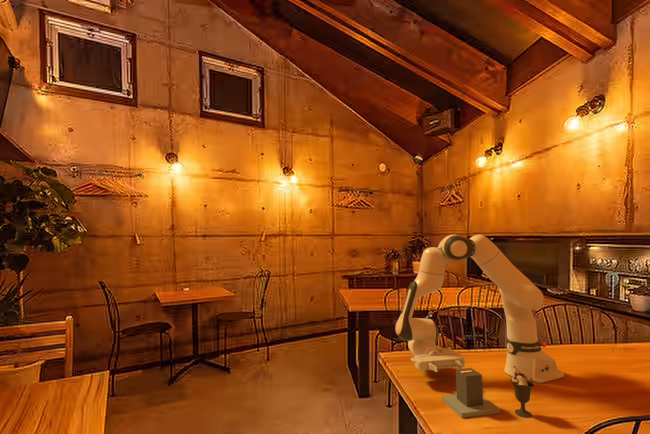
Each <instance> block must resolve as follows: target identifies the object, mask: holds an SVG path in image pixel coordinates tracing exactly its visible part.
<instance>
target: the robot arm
mask: <svg viewBox="0 0 650 434" xmlns="http://www.w3.org/2000/svg"><path fill="white" fill-rule="evenodd" d="M468 258H471V259H472V260H473V261H474V262H475V264H476V265H477V266H478V267H479V268H480V269H481V271H483V273H484V274H485V275H486V277H487V278H488V279H489V280H490V281H491V282H492V283H493V284H495V286H497V287H498V292H499V295H500V296H501V302H502V307H503V310H504V315H505V321H506V323H505V324H506V337H505V344H506V345H505V346H506V347H505V348H506V359H505V360H506V361H505V366H504V369H503V371H504V372H505V374H506V375H509V376H510V377H513V376H514V375H515V374H514V373H515V372H516V370H517V369H518V370H517V373H518V372H521V373H522V374H524V375H526V376H527V378H528V380H529V381H530V380H531V378H532V380H531V382H535V383H539V384H540V383H541V384H543V383H547V382H550V381H553V380H558V379H561V378H562V379H563V378H565V373H564V372H563V371H561V370H560V369H558V364H557V362H556V360H555V359H554V357H552V356H550V354H548V353H547V352H545V351H544V350H543V349H542V347H543V348H546V347H547V345H548V344H547V342H545V341H540V340H538V332H537V331H538V330H537V321H536V318H535V317H534V315H533V311H534V310H537V309H539V308H540V307H542V305H543V303H544V299H545V296H544V294H543V292H542V290H541V289H539V287H537V286H536V285H535V284H534V283H533V282H532V281H531V279H529V278H528V277H527V276H526V275H525V274H524V273H522V272H521V271H520V270H519V269H518V268H517V267H516V266H515V265H513V263H512V262H511V261H510V260H509V259H508V258H507V257H506V255H505V254H504V253H503V252H502V251H501V250H500V249H499V248H498V247H497V245H496V244H495V243H494V242H492V241H491V239H489V238H488V237H487V236H485V235H484V234H474V235H473V236H471V237H469V238H468V237H465V236H463V235H459V234H455V233H454V234H447V235H445V236H444V237H443V238H442V239H440V241H439V242H438V243H437V245H435V247H434V246H432V247H427V248H425V249H424V250H423V252H422V255H421V258H420V262H419V267H418V273H417V275H416V278H415V279H414V281H412V282H410V284H409V286H408V287H407V290H406V294H405V297H404V301H403V303H402V307H401V310H400V313H399V316H398V318H397V320H396V322H395V326H394V327H395V328H394V330H395V334H396V335H397V337H398V338H399V339H400V340H401V341H402V342H407V346H408V350H409V351H410V353H411V354H412V357H410V362H412V363H413V364H414V366H415V368H416V369H417V370H419V371H421V372H423V371H434V373H435V372H436V373H440V372H441V369H442V370H443V369H450V368H451V369H452V368H456V369H464V368H463V367H465V364H466V358H465V356H464V355H462V354H461V353H459V352H457V351H455V350H452V347H450V346H441V345H437V342H438V340H439V328H438V325H437V324H436V323H435V321H434V320H433V319H431V318H422V317H421V318H419V317H413V315H414V311H415V307H416V304H417V302H418V300H419V299H420V298H422V297H424V296H426V295H429V294H432V293H435V292H437V291H439V290H440V289H441V288H442V287H443V284H444V280H445V274H446V273H445V272H446V266H447V264H448V262H449V261H452V260H453V261H462V260H465V259H468ZM532 310H533V311H532ZM513 366H515V367H516V368H517V369H515V368H514V367H513Z"/></svg>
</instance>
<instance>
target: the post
mask: <svg viewBox="0 0 650 434" xmlns="http://www.w3.org/2000/svg"><path fill="white" fill-rule="evenodd" d="M441 401H443V403H445V404H446V405H447V406H448V407H449V408H450V409H451V410H452V411H453V412H454V413H455V414H457V415H458V416H459V418H461V419H463V418H471V417H472V418H473V417H479V416H486V415H487V416H488V415H493V414H500V413H501V408H500V407H498V406H497V405H496V404H494V402H492V401H491V400H489V399H488V398H486V397H485V396H483V405H480V406H472V407H466V406H465V405H464V404H463V403H462V402H460V401H459V400H458V399H457V393H454V394H447V395H444V394H443V395H441Z"/></svg>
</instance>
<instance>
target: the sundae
mask: <svg viewBox="0 0 650 434" xmlns="http://www.w3.org/2000/svg"><path fill="white" fill-rule="evenodd" d="M513 367H514V368H515V369H517V368H516V367H515V366H513ZM517 370H518V369H517ZM517 370H516V372H515V373H514V374H515V375H514V376H512V378H511V379H510V380H509V382H511V383H512V387H513V392H514V395H515V396H514V397H515V399H516V400H517V401H518V402H519V403H520V408H518V409H515V410H514V413H515V415H517V416H519V417H522V418H526V419H527V418H531V417H532V416H533V414H532V412H530V411H528V410H526V403H529V402H530V399H531V390H532V388H534V387H535V385H534V383H533V381H531V380H532V378H531V380H528V378H527V376H526V375H524V374H522V373H521V372H518V373H517Z"/></svg>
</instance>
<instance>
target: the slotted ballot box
mask: <svg viewBox="0 0 650 434" xmlns="http://www.w3.org/2000/svg"><path fill="white" fill-rule="evenodd" d="M455 381H456V382H455V383H456V386H455V387H456V388H455V389H456V394H457V399H458V400H459V401H460V402H462V403H463V404H464V405H465V406H466V407H472V406H480V405H483V397H484V396H483V395H484V394H483V392H484V391H483V374H481V373H479V372H478V371H477V370H475V369H473V368H472V367H467V368H463V369H457V368H456V369H455Z"/></svg>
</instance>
